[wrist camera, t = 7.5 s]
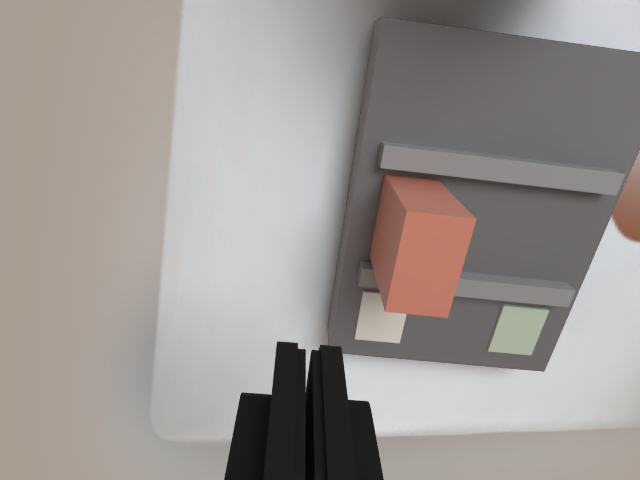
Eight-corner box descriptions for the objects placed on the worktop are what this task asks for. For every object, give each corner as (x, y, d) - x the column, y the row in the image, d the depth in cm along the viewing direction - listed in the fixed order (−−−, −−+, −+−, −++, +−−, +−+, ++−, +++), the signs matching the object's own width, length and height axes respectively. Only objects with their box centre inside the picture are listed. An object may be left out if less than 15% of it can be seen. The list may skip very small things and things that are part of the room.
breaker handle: (438, 179, 23) (476, 219, 18) (418, 260, 25) (447, 317, 20) (384, 173, 23) (407, 211, 17) (369, 255, 25) (384, 311, 19)
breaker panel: (636, 57, 23) (696, 57, 20) (524, 344, 32) (551, 381, 28) (374, 21, 23) (386, 14, 19) (327, 325, 31) (329, 362, 27)
